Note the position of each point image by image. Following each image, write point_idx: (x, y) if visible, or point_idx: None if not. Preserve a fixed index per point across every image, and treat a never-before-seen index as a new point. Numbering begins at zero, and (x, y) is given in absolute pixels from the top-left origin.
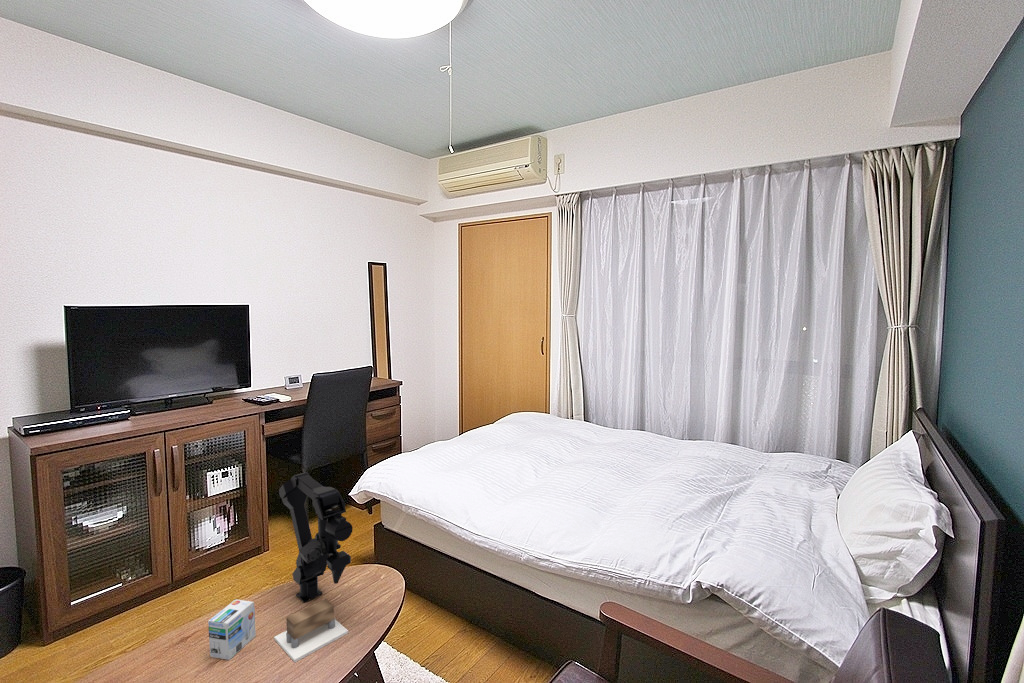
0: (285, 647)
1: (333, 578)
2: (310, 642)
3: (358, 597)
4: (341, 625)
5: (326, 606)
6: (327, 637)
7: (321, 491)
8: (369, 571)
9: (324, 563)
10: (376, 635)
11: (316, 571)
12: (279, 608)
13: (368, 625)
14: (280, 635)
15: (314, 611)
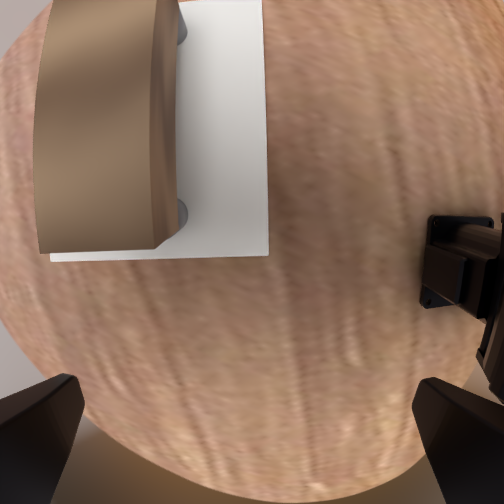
0: None
1: (14, 402)
2: None
3: (269, 404)
4: (96, 257)
5: (55, 207)
6: None
7: None
8: (381, 467)
9: (455, 464)
10: (4, 321)
11: (501, 334)
12: (460, 124)
13: (58, 337)
14: (248, 16)
15: (61, 113)
